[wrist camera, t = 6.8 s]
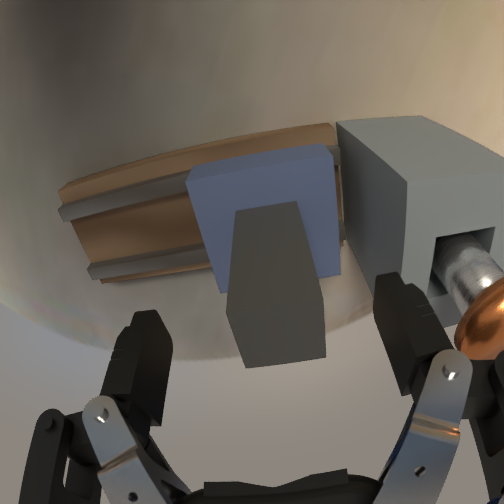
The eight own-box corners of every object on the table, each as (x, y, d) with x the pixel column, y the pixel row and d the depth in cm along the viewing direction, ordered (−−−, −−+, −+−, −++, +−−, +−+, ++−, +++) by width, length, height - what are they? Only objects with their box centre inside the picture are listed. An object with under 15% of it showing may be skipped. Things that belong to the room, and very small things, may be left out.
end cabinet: (335, 121, 18) (407, 181, 9) (421, 115, 17) (525, 171, 9) (345, 238, 22) (389, 346, 14) (418, 226, 22) (486, 319, 13)
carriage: (193, 165, 17) (143, 271, 9) (322, 142, 16) (388, 232, 8) (223, 268, 21) (209, 397, 13) (332, 251, 20) (372, 375, 12)
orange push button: (409, 207, 12) (486, 306, 7) (481, 197, 12) (563, 278, 7) (402, 282, 14) (451, 384, 9) (467, 267, 14) (525, 353, 9)
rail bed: (67, 182, 20) (52, 196, 18) (328, 122, 18) (337, 130, 16) (108, 271, 24) (98, 290, 22) (338, 234, 22) (345, 252, 20)
